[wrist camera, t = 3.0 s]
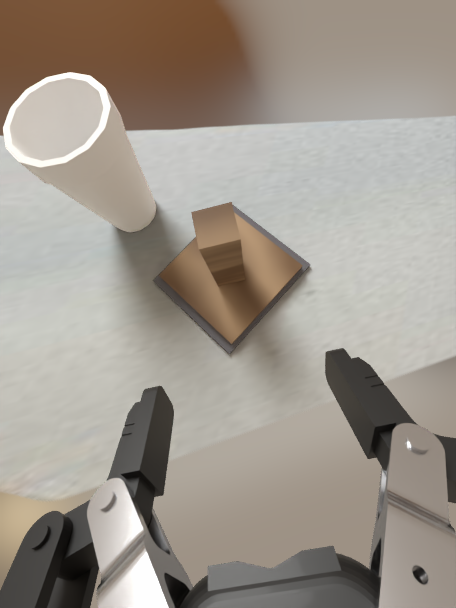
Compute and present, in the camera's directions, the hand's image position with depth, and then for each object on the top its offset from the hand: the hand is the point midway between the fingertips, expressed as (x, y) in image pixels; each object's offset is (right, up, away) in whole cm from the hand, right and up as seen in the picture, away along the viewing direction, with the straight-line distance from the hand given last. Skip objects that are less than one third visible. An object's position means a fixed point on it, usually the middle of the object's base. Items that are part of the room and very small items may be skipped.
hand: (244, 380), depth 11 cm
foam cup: (-14, +16, +21) cm, 30 cm away
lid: (-1, +7, +17) cm, 18 cm away
